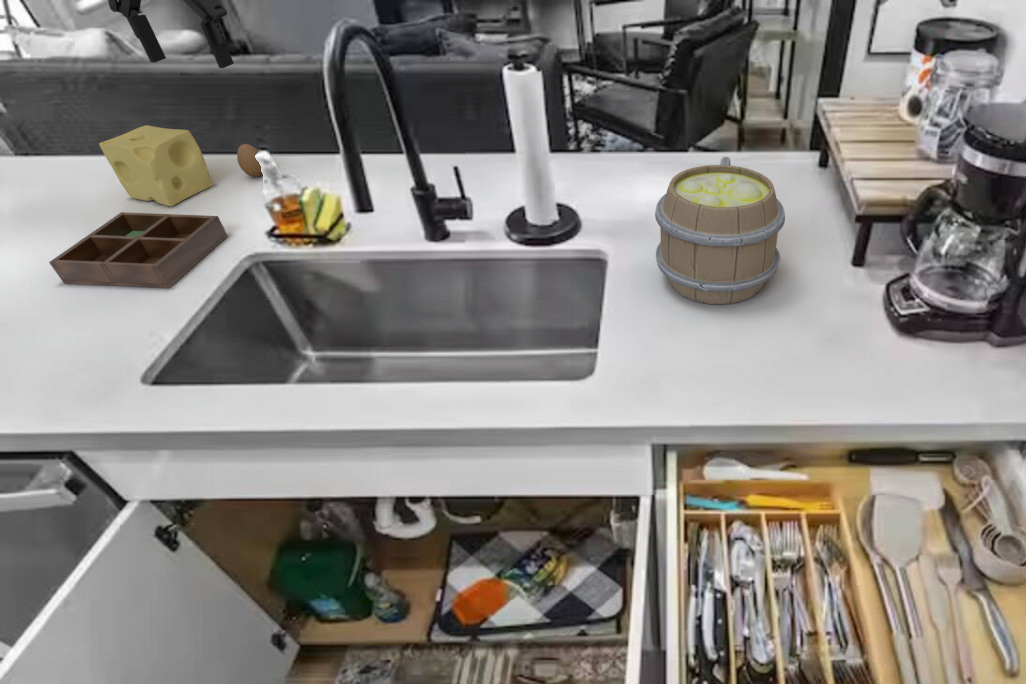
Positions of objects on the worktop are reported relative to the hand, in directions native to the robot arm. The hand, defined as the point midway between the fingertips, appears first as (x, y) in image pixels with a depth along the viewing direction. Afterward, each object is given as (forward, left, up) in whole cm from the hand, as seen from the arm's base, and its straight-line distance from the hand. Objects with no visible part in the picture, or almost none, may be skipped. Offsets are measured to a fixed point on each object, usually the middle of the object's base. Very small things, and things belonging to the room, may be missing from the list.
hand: (192, 63), depth 114 cm
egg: (+2, +1, -20) cm, 20 cm away
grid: (+1, -31, -20) cm, 37 cm away
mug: (+92, -28, -20) cm, 98 cm away
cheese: (-10, -7, -20) cm, 23 cm away
